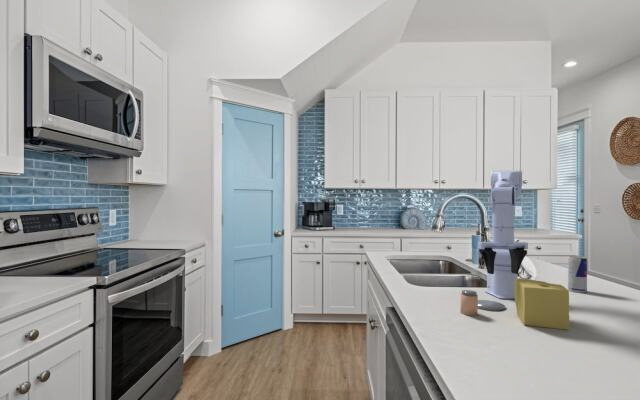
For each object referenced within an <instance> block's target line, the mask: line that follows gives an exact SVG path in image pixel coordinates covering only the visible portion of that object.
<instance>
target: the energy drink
mask: <svg viewBox="0 0 640 400" xmlns="http://www.w3.org/2000/svg"><path fill="white" fill-rule="evenodd" d="M567 261H568V262H567V263H568V264H567V265H568V267H567V271H568V272H567V273H568V275H567V290H569V291H570V292H572V291H573V292H572V293H578V292H579V293H578V294H580V293H581V294H582V293H583V294H585V293H587V291H588V259H587V256H579V255H578V256H577V255H569V256H568V259H567Z"/></svg>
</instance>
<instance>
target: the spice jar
mask: <svg viewBox="0 0 640 400" xmlns="http://www.w3.org/2000/svg"><path fill="white" fill-rule="evenodd" d="M478 298H479V295H478V294H477V291H475V290H471V289H463V290H461V293H460V314H462V315H464V316H469V317H470V316H471V317H474V316H475V317H476V316H478V309H479V308H478V300H479V299H478Z"/></svg>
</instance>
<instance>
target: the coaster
mask: <svg viewBox="0 0 640 400" xmlns="http://www.w3.org/2000/svg"><path fill="white" fill-rule="evenodd" d="M478 309H480V310H482V311H488V312H489V311H490V312H500V311H504V310H506V305H505V304H503V303H501V302H499V301H494V300H489V299H478Z"/></svg>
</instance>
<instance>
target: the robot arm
mask: <svg viewBox="0 0 640 400" xmlns="http://www.w3.org/2000/svg"><path fill="white" fill-rule="evenodd" d="M522 186H523V170H522V169H518V170H517V169H516V170H491V172H490V188H491V189H490V205H491V212H492V219H491V220H492V221H491V222H492V223H491V226H492V228H491V229H492V231H491V236H492V237H491V241H478V242H477V249H478V250H479V254H480V256H481V257H482V260H483V261H484V264H485V267H486V289H485V290H484V292H485V293H487V294H489V295H492V296H494V297H496V298H498V299H499V300H500V299H515V294H514V287H515V279H518V274H519V272H520V270H521V268H522V262H523V260H524V259H525V257H526V256H527V255H528V249H529V242H525V241H516V240H515V206H516V204H517V202H516V201H517V198H519V197H520V196H521V193H522V190H523V189H522Z"/></svg>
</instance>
